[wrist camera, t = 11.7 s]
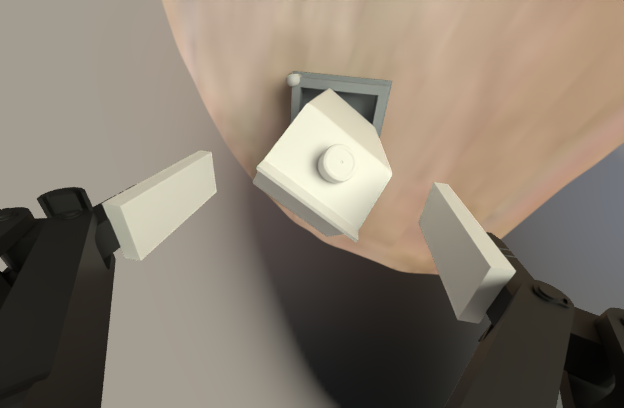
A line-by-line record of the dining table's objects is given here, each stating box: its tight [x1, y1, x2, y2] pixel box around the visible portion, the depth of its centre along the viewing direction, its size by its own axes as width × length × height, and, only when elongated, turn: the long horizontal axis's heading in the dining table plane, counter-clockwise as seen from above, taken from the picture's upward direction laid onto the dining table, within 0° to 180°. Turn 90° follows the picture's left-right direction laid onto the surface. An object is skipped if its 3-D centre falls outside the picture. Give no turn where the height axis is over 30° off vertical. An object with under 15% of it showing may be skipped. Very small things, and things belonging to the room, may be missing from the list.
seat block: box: [287, 71, 392, 139], centre depth 31 cm, size 12×12×5 cm
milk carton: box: [253, 88, 392, 242], centre depth 22 cm, size 7×7×19 cm
